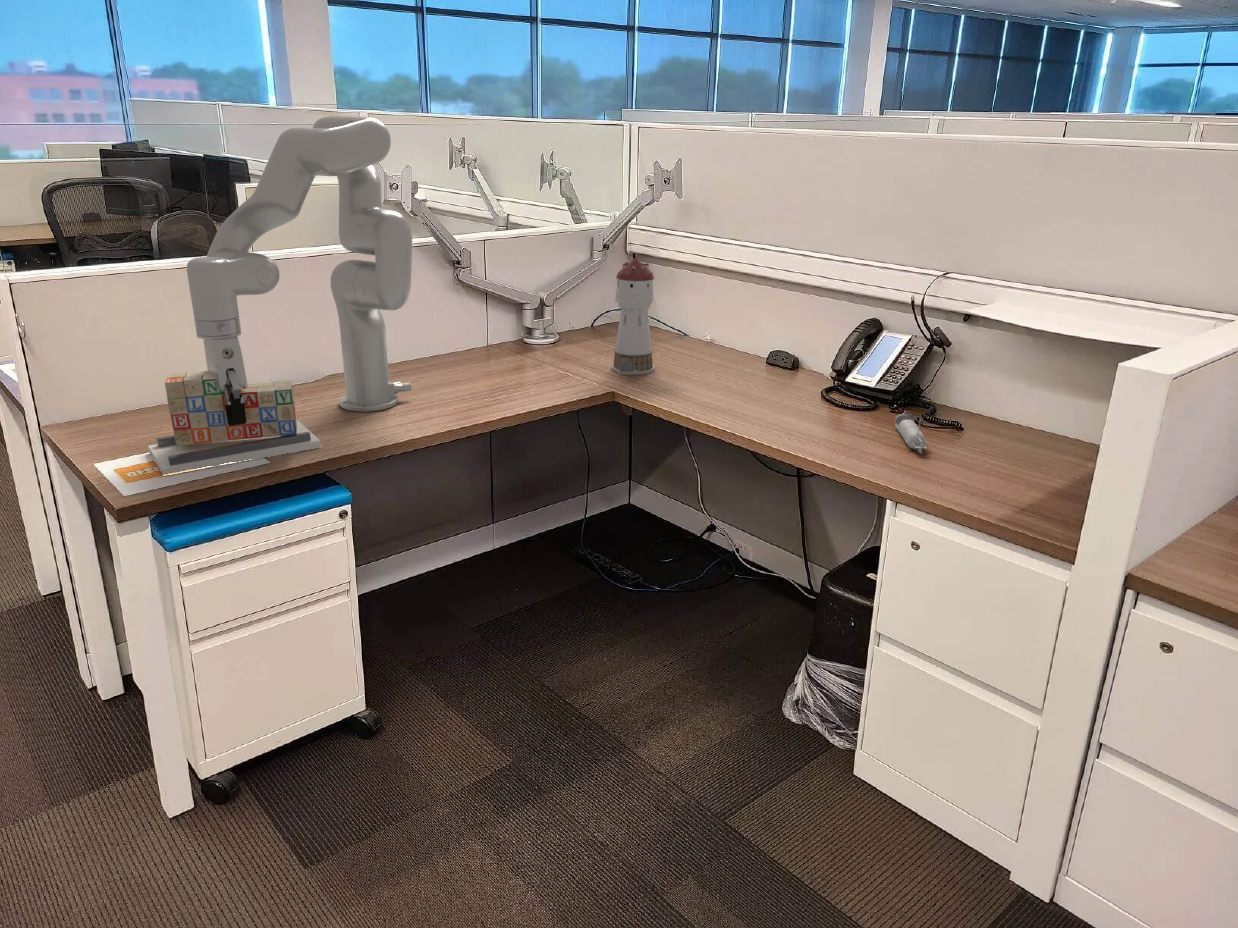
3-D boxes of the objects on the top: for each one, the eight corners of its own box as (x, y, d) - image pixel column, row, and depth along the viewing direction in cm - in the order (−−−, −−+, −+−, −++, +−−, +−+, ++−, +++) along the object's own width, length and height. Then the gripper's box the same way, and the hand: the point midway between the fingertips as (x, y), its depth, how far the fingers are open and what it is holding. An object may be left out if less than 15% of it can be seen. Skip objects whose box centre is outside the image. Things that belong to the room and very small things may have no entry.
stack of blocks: (297, 425, 177) (290, 364, 172) (297, 435, 171) (289, 373, 167) (179, 434, 170) (168, 372, 166) (174, 445, 165) (163, 381, 160)
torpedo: (888, 427, 193) (892, 398, 191) (910, 428, 193) (915, 399, 191) (908, 456, 177) (913, 425, 174) (932, 457, 176) (937, 426, 174)
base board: (298, 427, 184) (297, 413, 183) (320, 447, 174) (319, 433, 173) (149, 453, 169) (146, 438, 168) (163, 476, 159) (160, 461, 158)
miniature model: (655, 364, 237) (660, 249, 226) (652, 376, 226) (657, 256, 215) (614, 362, 238) (616, 247, 227) (608, 374, 227) (610, 254, 216)
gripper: (252, 334, 158) (264, 427, 165) (228, 316, 171) (240, 403, 178) (207, 339, 154) (221, 434, 161) (186, 320, 167) (200, 409, 174)
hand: (231, 417), depth 169 cm, fingers open, 8 cm apart
